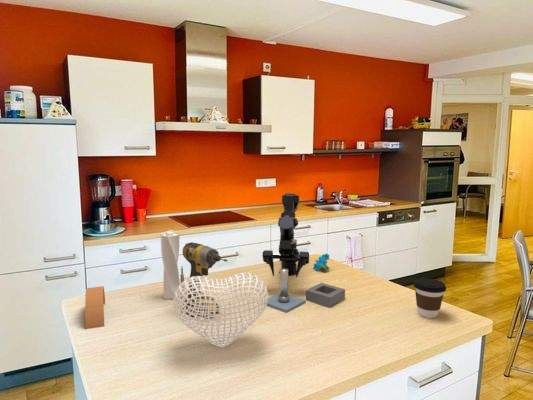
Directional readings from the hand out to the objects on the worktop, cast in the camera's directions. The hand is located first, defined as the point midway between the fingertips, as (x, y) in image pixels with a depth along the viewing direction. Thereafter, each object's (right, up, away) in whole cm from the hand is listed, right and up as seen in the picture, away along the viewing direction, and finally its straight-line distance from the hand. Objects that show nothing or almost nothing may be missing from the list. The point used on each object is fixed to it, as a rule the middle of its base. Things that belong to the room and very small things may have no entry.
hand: (284, 276), depth 156 cm
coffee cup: (+51, -11, -13) cm, 54 cm away
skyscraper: (-45, -9, +2) cm, 45 cm away
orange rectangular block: (-68, -11, -15) cm, 70 cm away
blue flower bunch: (+19, -4, +35) cm, 41 cm away
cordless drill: (-29, -11, -14) cm, 34 cm away
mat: (-1, -10, -4) cm, 10 cm away
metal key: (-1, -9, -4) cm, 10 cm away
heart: (-21, -14, -36) cm, 44 cm away
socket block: (+16, -9, 0) cm, 18 cm away
